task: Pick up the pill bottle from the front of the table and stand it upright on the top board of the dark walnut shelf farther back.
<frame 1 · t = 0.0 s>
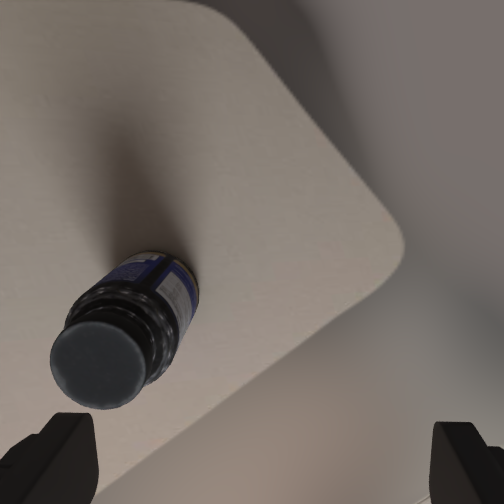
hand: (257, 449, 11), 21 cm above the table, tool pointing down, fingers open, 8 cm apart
pill bottle: (158, 290, 33), on the table
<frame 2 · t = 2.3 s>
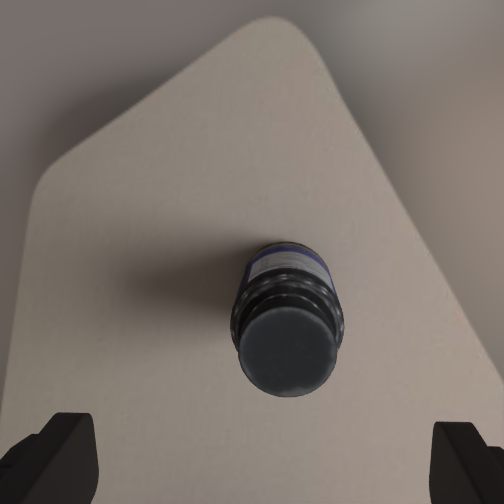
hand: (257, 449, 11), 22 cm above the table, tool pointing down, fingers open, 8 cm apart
pill bottle: (286, 281, 33), on the table
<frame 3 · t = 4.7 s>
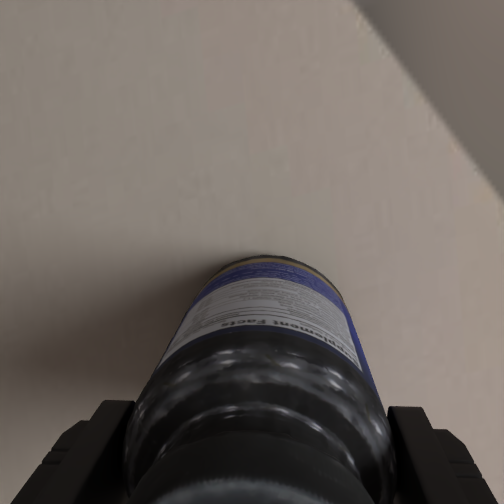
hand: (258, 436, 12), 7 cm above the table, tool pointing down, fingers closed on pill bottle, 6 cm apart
pill bottle: (269, 326, 18), on the table, touching gripper
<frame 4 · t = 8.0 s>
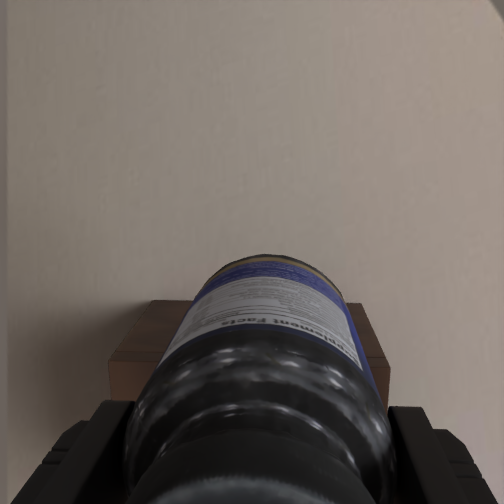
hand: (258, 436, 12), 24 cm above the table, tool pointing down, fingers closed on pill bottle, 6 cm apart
shelf: (256, 372, 38), on the table
pill bottle: (269, 325, 18), point 17 cm above the table, touching gripper
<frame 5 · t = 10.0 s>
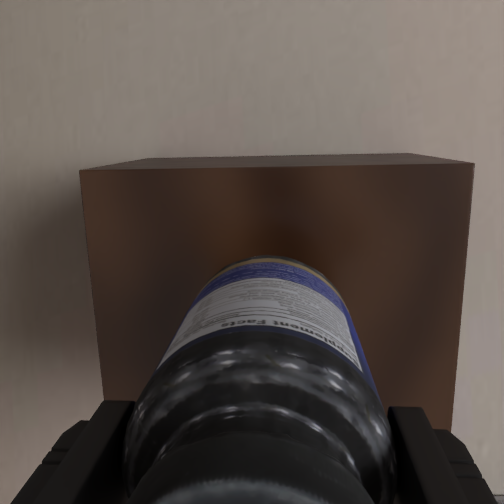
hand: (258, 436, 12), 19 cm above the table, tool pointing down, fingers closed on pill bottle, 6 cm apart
shelf: (277, 251, 30), on the table
pill bottle: (269, 326, 18), point 12 cm above the table, touching gripper
when the fingers open (17 cm above the table, at t = 11.4 s): pill bottle stays where it is, resting on shelf.
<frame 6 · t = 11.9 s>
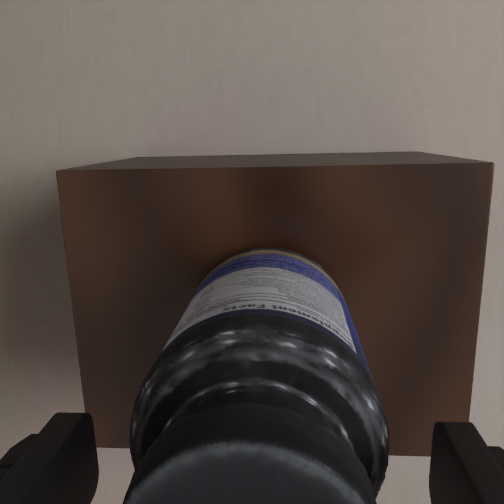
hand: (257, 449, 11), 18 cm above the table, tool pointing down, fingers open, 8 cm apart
shelf: (275, 256, 28), on the table
pill bottle: (269, 316, 19), point 10 cm above the table, touching shelf
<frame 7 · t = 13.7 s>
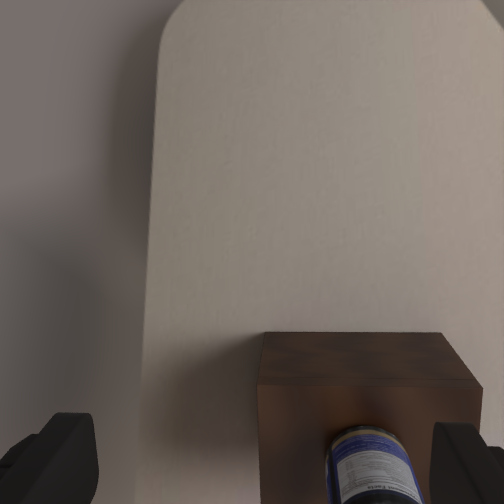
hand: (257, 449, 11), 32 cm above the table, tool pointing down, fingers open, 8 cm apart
shelf: (351, 391, 45), on the table
pill bottle: (364, 456, 36), point 10 cm above the table, touching shelf
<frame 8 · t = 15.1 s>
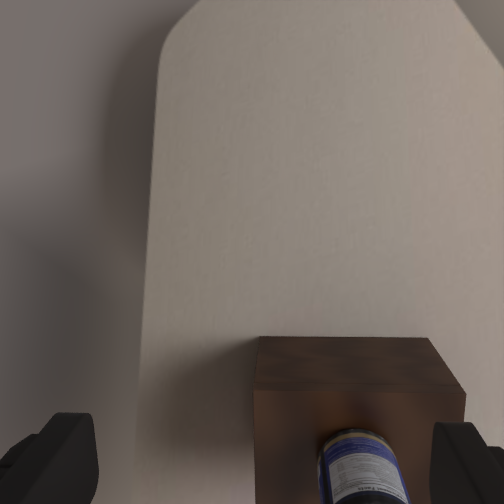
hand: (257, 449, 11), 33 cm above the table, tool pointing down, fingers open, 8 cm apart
shelf: (341, 392, 47), on the table
pill bottle: (354, 457, 38), point 10 cm above the table, touching shelf
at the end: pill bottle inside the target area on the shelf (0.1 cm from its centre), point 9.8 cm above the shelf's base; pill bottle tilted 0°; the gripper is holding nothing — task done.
